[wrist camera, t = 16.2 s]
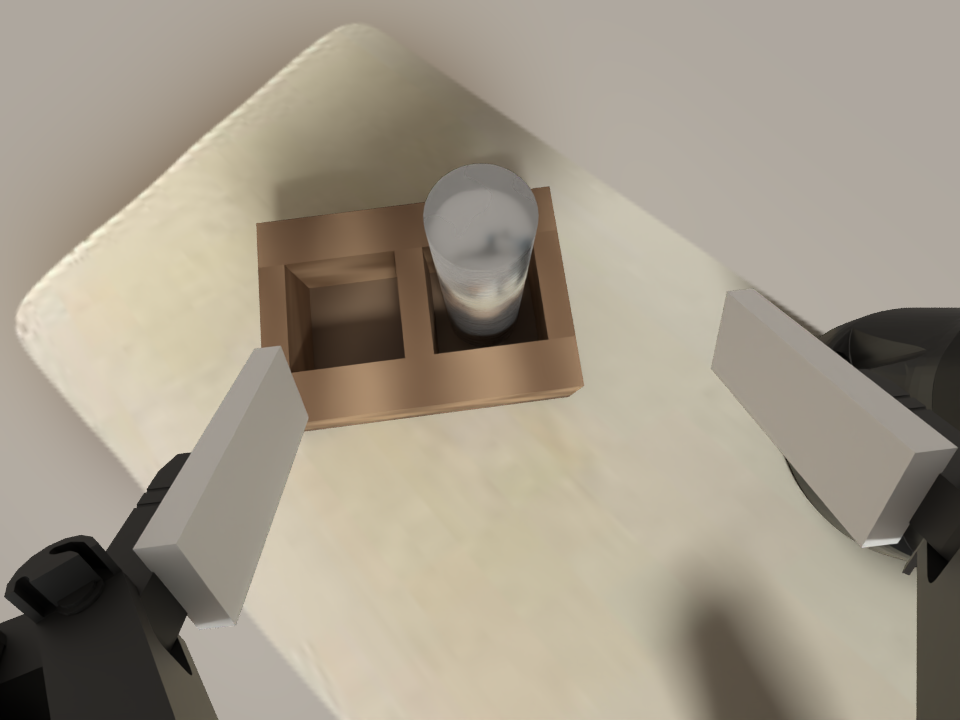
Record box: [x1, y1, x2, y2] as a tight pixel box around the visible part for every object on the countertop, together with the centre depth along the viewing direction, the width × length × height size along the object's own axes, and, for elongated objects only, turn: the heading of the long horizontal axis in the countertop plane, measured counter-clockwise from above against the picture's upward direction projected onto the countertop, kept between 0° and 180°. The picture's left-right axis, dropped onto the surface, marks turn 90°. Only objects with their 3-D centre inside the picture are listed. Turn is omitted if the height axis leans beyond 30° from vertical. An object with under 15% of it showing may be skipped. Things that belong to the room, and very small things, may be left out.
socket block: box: [256, 187, 584, 431], centre depth 29 cm, size 17×12×5 cm
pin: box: [423, 163, 539, 347], centre depth 25 cm, size 4×4×13 cm
